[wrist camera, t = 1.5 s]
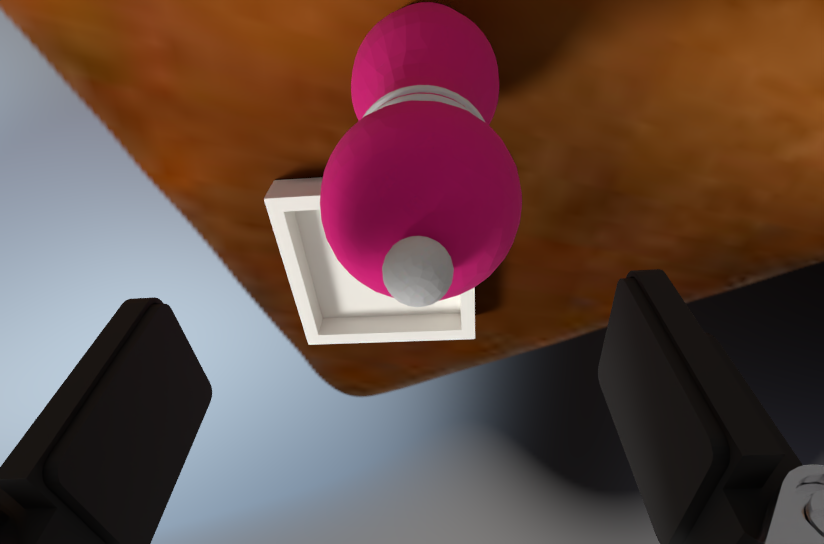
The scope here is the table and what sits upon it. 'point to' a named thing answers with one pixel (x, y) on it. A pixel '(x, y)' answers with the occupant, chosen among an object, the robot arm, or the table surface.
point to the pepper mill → (422, 161)
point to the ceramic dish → (348, 282)
